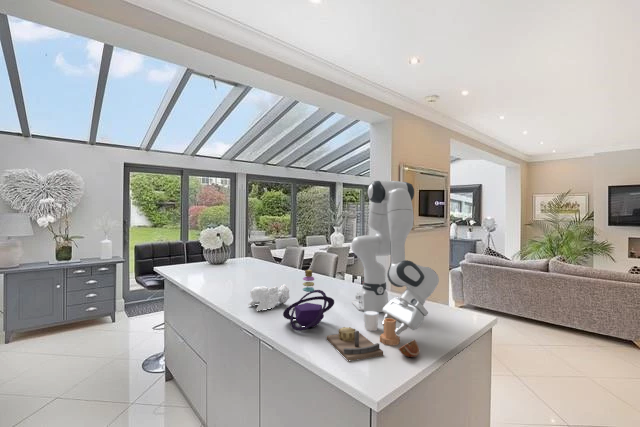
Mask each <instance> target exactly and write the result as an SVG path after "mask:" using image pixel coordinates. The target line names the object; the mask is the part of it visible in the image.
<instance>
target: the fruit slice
mask: <svg viewBox="0 0 640 427" xmlns="http://www.w3.org/2000/svg"><path fill="white" fill-rule="evenodd" d="M398 351H399V352H400V354H402V355H403V356H405V357H408V358H415V357H418V355H420V346H419V344H418V342H417V340H415V339H413V340H412V341H411V340H410V341H408V342H407V343H405V344H404V345H401V346H400V347H399V348H398Z"/></svg>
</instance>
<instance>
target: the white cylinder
mask: <svg viewBox="0 0 640 427" xmlns="http://www.w3.org/2000/svg"><path fill="white" fill-rule="evenodd" d="M379 318H380V312H376V311H363V323H364V324H363V325H364V330H366V331H370V332H374V331H377V330H378V328H379Z"/></svg>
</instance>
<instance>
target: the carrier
mask: <svg viewBox="0 0 640 427" xmlns="http://www.w3.org/2000/svg"><path fill="white" fill-rule="evenodd" d="M327 340H328V341H329V342H330V343H331V344H332V345H333V346H334V347H335V348H336V349H337V350H338V351H339V352H340V353H341V354H342V355H343V356H344V357H345V358H346V359H347V360H348V361H347V360H346V359H345V358H344V357H343V356H342V355H341V354H340V353H339V352H338V351H337V350H336V349H335V348H334V347H333V346H332V345H331V344H330V343H329V342H328V343H329V344H330V345H331V346H332V347H333V348H334V349H335V350H336V351H337V352H338V353H339V354H340V355H341V356H342V357H343V358H344V359H345V360H346V361H347V362H350V361H349V360H354V361H358V360H357V359H360V360H365V359H371V358H377V357H381V356H382V357H383V356H384V350H382V349H381V348H380V343H373V342H372V341H371V340H370V339H368V338H366V336H364V335H363V334H362V333H361V332H360V331H359V330H356V329H355V328H352V327H350V326H349V327H348V326H347V327H345V326H343V327H341V328H338V333H337V334H332V335H331V334H330V335H326V341H327Z"/></svg>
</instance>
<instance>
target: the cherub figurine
mask: <svg viewBox="0 0 640 427" xmlns="http://www.w3.org/2000/svg"><path fill="white" fill-rule="evenodd" d="M250 298H251V300H250V302H249V303H248V306H249V305H254V306H255V304H259V305H257V307H256V309H255V311H256V310H262V311H263V309H268V308H272V309H274V308H275V307H276V306H277V304H278V303H281V304H282V303H284V304H286V303H287V302H288V301H289V299H290V289H289V287H288V286H287V284H281V286H280V287H279V288H278V286H277V285H276V286H274V287H269V288H268V287H267V286H265V285H263V286H254V287H253V288H252V289H251V290H250Z"/></svg>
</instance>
